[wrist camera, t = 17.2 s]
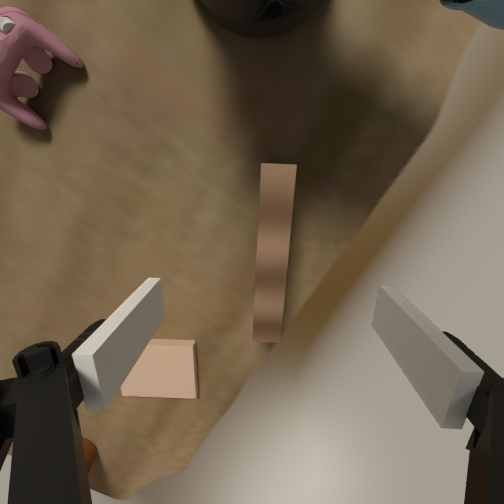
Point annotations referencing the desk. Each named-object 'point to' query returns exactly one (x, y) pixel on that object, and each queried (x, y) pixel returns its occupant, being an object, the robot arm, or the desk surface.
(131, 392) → the tile
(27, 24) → the video game controller
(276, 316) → the wooden plank
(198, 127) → the desk surface
